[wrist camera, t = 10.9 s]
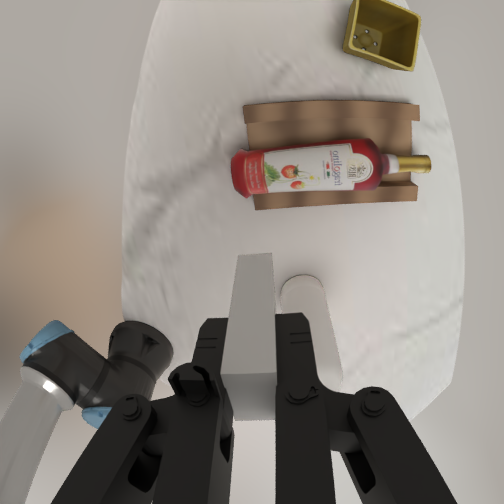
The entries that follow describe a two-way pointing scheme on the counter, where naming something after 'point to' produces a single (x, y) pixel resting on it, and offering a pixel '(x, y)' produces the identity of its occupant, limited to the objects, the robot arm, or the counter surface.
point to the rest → (329, 129)
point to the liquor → (319, 167)
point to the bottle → (315, 325)
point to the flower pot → (383, 33)
